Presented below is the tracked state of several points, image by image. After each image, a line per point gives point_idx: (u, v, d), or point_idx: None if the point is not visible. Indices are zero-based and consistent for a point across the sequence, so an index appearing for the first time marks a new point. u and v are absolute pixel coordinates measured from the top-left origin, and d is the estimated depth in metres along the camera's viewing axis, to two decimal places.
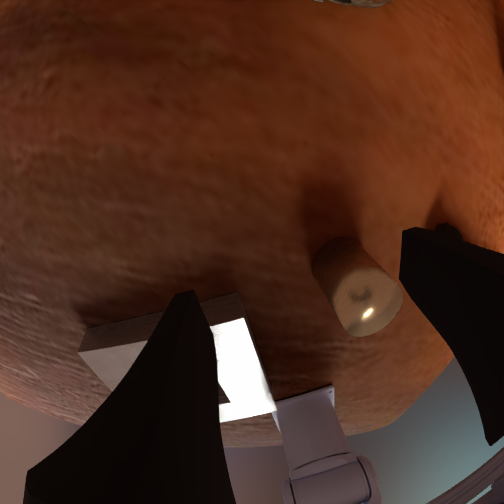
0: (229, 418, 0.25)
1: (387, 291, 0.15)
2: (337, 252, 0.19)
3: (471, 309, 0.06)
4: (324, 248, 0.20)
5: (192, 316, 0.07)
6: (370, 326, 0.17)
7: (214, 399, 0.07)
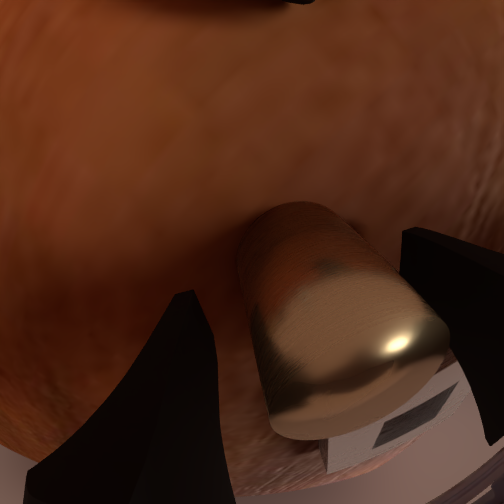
0: None
1: (314, 394, 0.05)
2: None
3: (471, 309, 0.06)
4: None
5: (192, 316, 0.07)
6: (416, 375, 0.05)
7: (214, 399, 0.07)
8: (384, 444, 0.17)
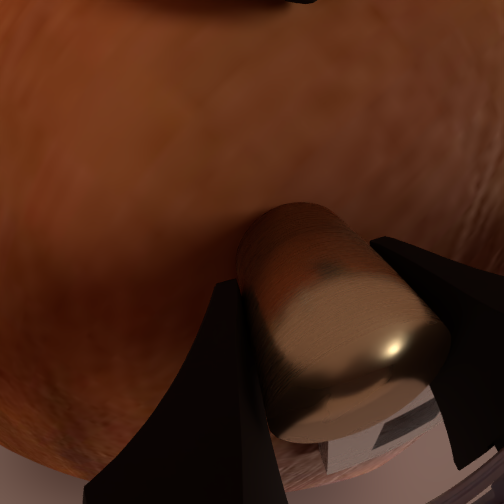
0: None
1: (313, 398, 0.04)
2: None
3: None
4: None
5: (240, 304, 0.07)
6: (417, 378, 0.05)
7: (260, 389, 0.07)
8: (384, 445, 0.17)
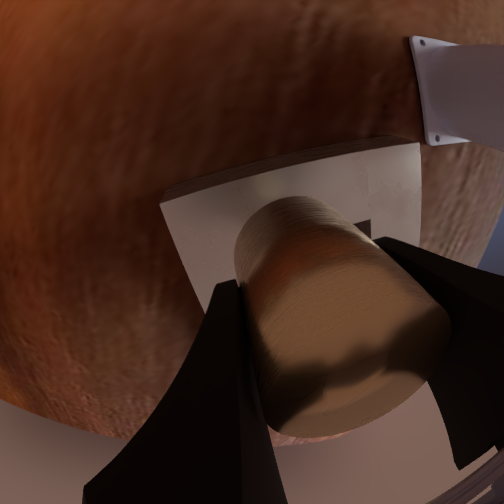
0: (414, 223, 0.15)
1: (307, 387, 0.04)
2: None
3: None
4: None
5: (239, 304, 0.07)
6: (419, 365, 0.05)
7: None
8: None
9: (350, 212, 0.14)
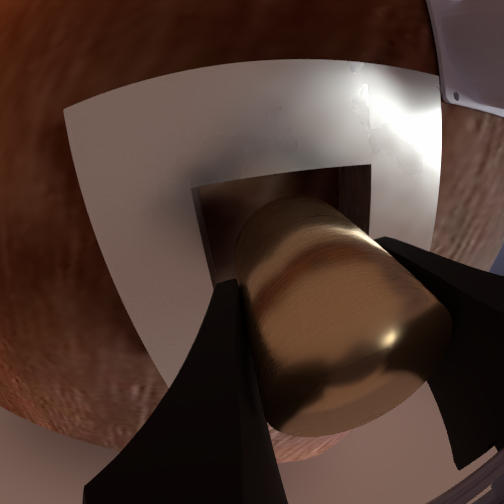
0: (431, 186, 0.10)
1: (307, 387, 0.04)
2: None
3: None
4: None
5: (240, 304, 0.07)
6: (420, 363, 0.05)
7: None
8: None
9: (341, 146, 0.09)
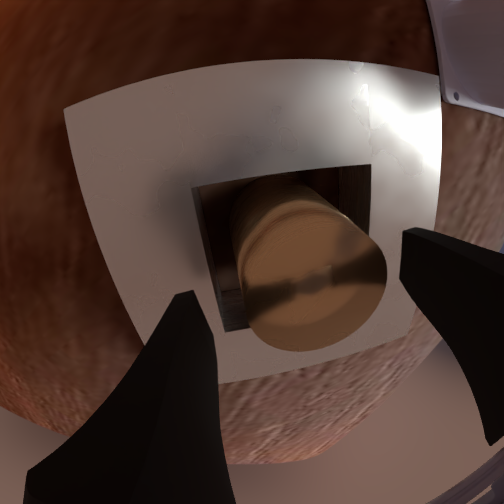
0: (431, 186, 0.10)
1: (274, 290, 0.07)
2: None
3: (471, 309, 0.06)
4: None
5: (192, 316, 0.07)
6: (363, 287, 0.08)
7: (214, 399, 0.07)
8: None
9: (341, 146, 0.09)
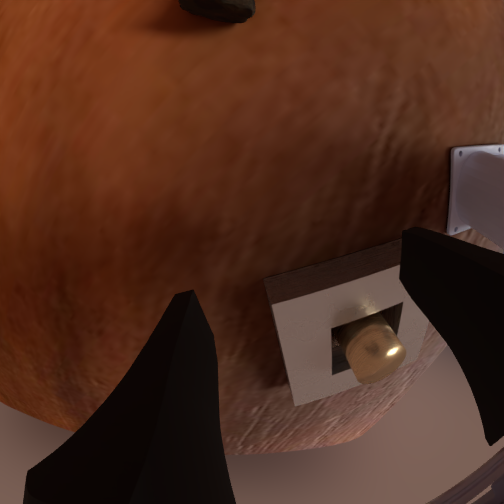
0: None
1: (367, 367, 0.18)
2: None
3: (471, 309, 0.06)
4: None
5: (192, 316, 0.07)
6: (397, 359, 0.18)
7: (214, 399, 0.07)
8: (344, 372, 0.22)
9: (392, 299, 0.19)
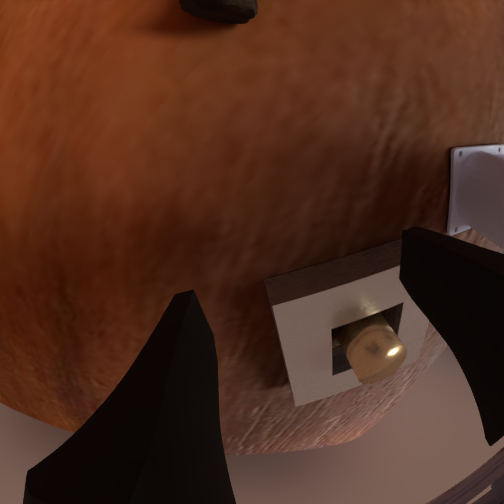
0: None
1: (368, 368, 0.18)
2: None
3: (471, 309, 0.06)
4: None
5: (192, 316, 0.07)
6: (398, 359, 0.18)
7: (214, 399, 0.07)
8: (345, 372, 0.22)
9: (392, 300, 0.19)
